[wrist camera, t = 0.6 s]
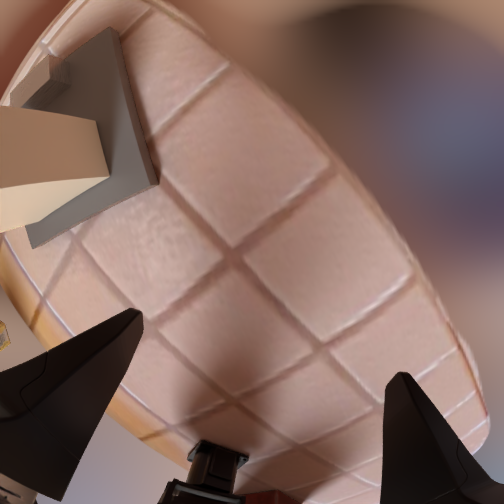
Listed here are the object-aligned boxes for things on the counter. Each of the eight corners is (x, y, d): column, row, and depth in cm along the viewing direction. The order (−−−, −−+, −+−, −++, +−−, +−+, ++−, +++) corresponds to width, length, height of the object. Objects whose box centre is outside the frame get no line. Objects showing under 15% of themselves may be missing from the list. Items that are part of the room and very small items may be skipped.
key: (110, 176, 18) (-24, 192, 7) (39, 221, 20) (-61, 255, 9) (95, 120, 17) (-29, 103, 6) (27, 174, 19) (-71, 190, 8)
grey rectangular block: (71, 85, 17) (49, 78, 14) (32, 119, 18) (11, 117, 15) (68, 62, 16) (48, 54, 13) (30, 96, 17) (10, 93, 14)
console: (159, 184, 20) (150, 185, 19) (41, 245, 23) (32, 249, 21) (118, 32, 17) (109, 26, 15) (15, 117, 19) (6, 116, 18)
